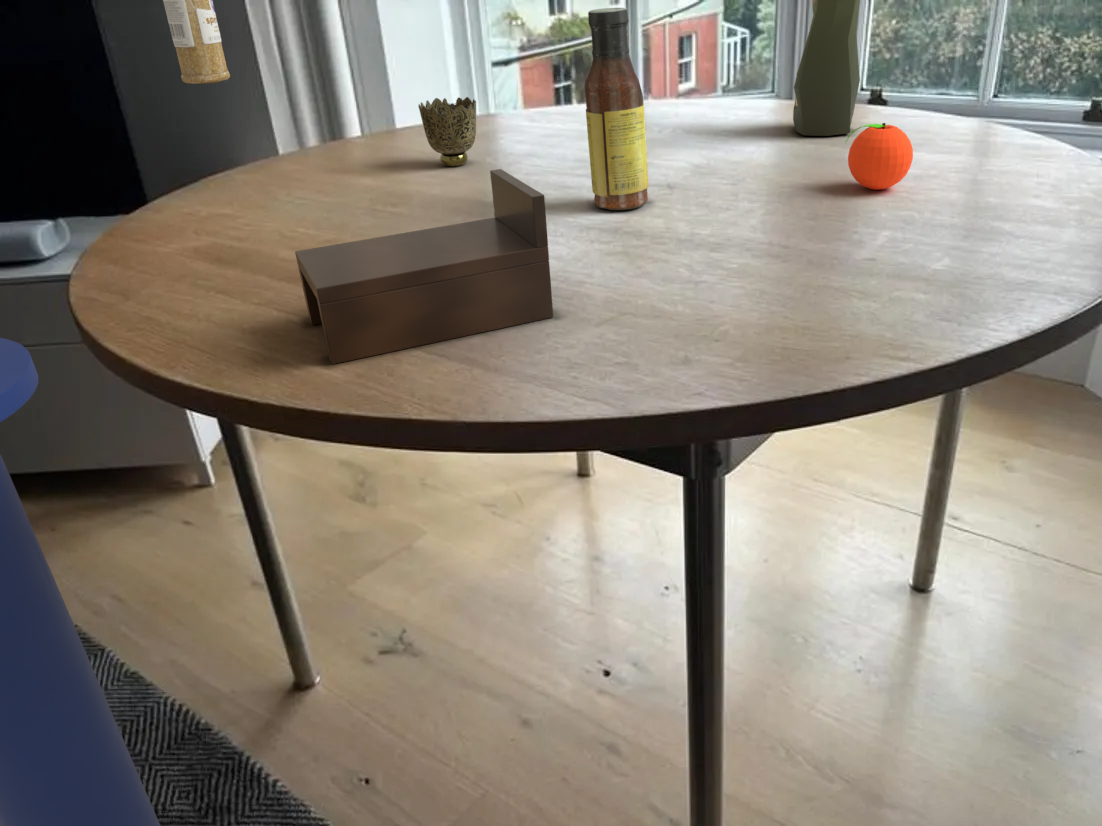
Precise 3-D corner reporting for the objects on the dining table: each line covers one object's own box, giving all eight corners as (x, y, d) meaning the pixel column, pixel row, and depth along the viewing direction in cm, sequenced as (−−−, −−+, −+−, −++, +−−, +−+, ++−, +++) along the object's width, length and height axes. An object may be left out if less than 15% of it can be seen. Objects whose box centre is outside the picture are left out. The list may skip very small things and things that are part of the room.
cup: (487, 157, 127) (481, 95, 123) (476, 170, 121) (469, 105, 117) (434, 158, 128) (426, 97, 124) (420, 171, 121) (411, 107, 117)
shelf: (332, 364, 70) (305, 234, 65) (309, 320, 78) (283, 201, 73) (553, 317, 76) (544, 195, 71) (511, 281, 84) (500, 168, 79)
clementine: (825, 189, 105) (830, 124, 102) (857, 176, 110) (863, 113, 106) (889, 200, 100) (897, 132, 97) (920, 186, 105) (928, 120, 101)
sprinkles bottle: (236, 80, 90) (202, -78, 84) (188, 86, 88) (149, -77, 82) (223, 76, 94) (190, -77, 87) (176, 81, 92) (138, -75, 85)
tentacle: (846, 122, 136) (867, -118, 121) (864, 140, 125) (889, -120, 110) (783, 124, 136) (796, -114, 121) (796, 143, 126) (812, -116, 111)
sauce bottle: (657, 199, 105) (654, 5, 95) (633, 214, 100) (628, 12, 90) (606, 194, 108) (598, 5, 98) (580, 209, 103) (569, 12, 93)
